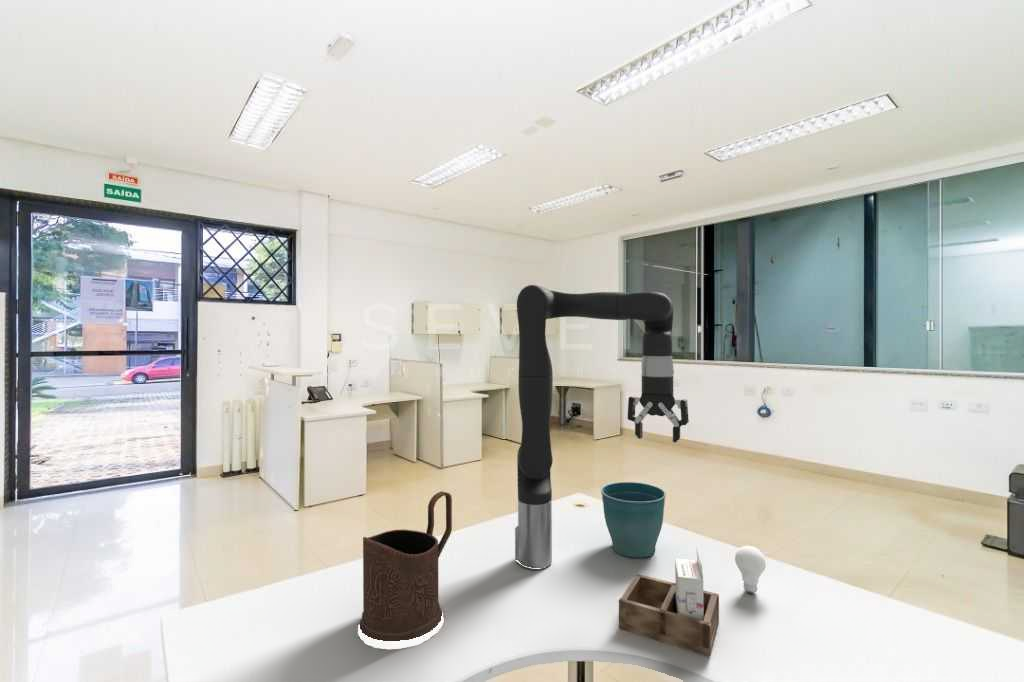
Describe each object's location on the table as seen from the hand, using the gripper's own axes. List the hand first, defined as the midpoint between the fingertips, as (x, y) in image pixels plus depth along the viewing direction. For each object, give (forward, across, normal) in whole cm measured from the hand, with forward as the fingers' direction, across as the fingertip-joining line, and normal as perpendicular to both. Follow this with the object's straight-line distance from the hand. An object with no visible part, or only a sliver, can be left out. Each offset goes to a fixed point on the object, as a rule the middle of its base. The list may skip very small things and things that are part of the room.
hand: (657, 440), depth 117 cm
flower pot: (+36, -11, +17) cm, 42 cm away
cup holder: (+36, -44, -40) cm, 70 cm away
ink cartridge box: (+35, +10, -15) cm, 39 cm away
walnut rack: (+36, +6, -15) cm, 40 cm away
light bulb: (+36, +20, +8) cm, 42 cm away
